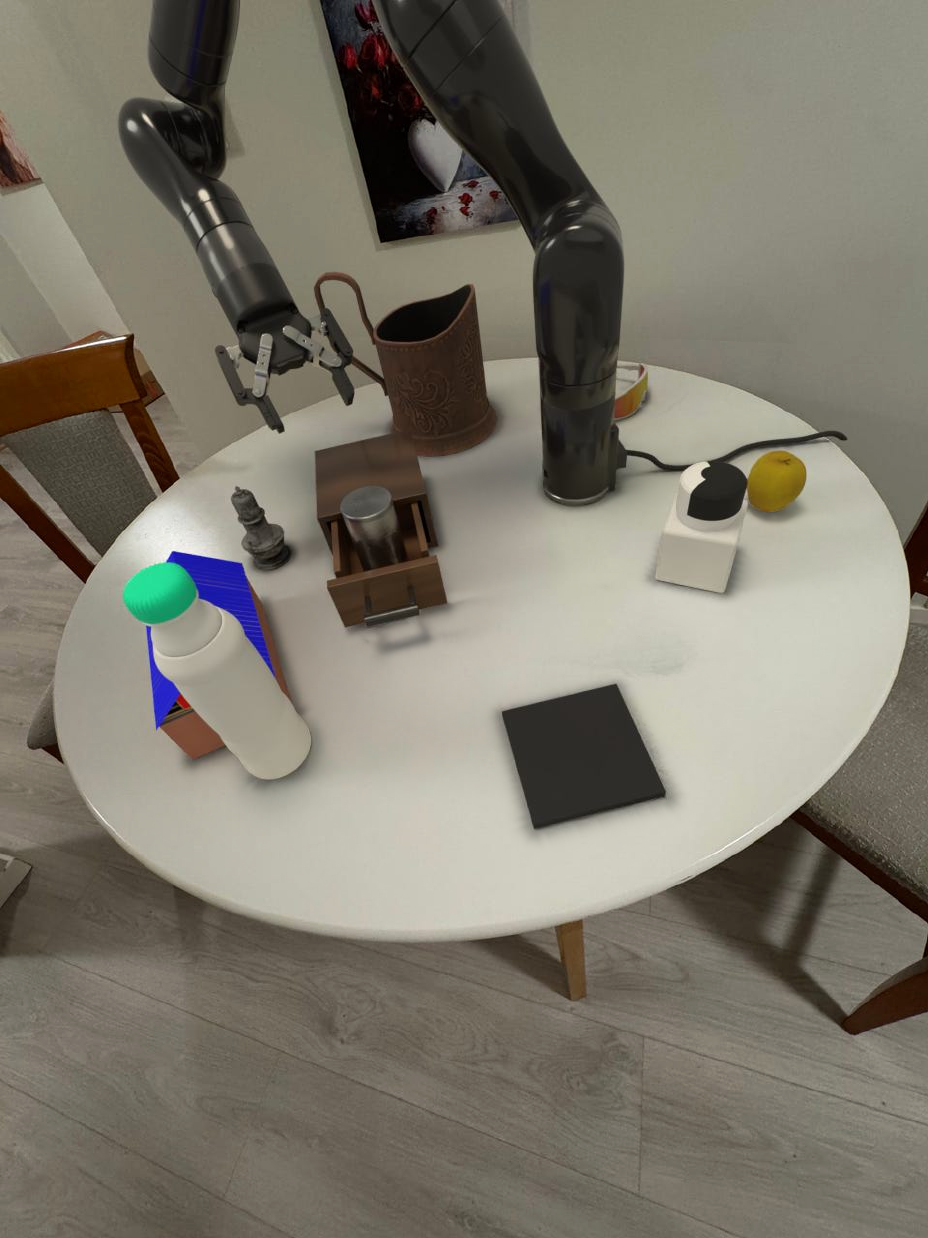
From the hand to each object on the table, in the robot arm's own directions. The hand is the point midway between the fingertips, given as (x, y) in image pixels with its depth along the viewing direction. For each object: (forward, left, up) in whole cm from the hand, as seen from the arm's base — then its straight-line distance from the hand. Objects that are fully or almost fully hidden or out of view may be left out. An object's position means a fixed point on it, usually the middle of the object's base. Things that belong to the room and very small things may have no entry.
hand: (316, 416), depth 66 cm
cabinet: (-3, -4, -19) cm, 20 cm away
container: (-39, +18, -19) cm, 48 cm away
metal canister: (-3, +9, -17) cm, 20 cm away
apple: (-52, +11, -19) cm, 57 cm away
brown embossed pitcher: (-13, -27, -19) cm, 36 cm away
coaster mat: (-18, +38, -19) cm, 47 cm away
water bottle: (+11, +30, -19) cm, 37 cm away
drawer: (-3, +11, -18) cm, 22 cm away
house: (+17, +18, -19) cm, 31 cm away
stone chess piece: (+13, -2, -19) cm, 23 cm away
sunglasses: (-42, -23, -19) cm, 52 cm away
